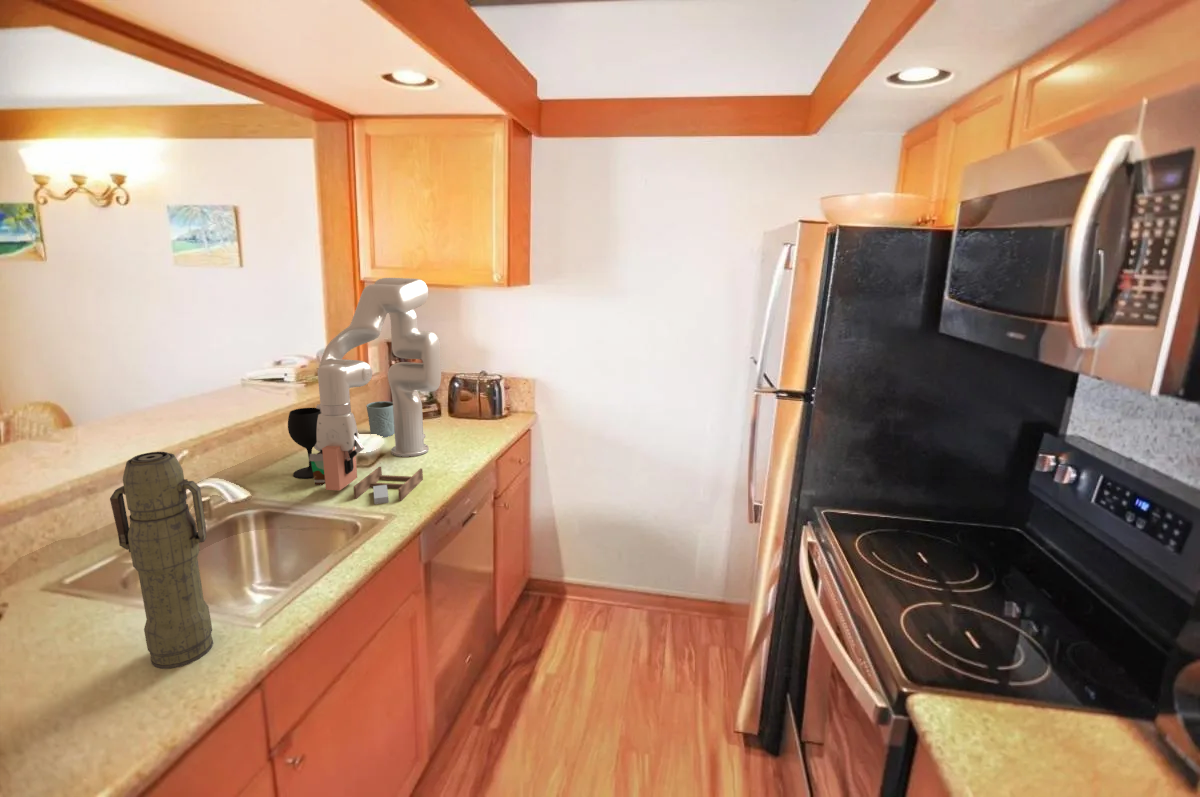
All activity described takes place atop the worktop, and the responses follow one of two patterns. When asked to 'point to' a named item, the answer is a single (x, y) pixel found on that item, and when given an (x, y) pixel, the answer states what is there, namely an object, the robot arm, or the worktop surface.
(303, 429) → the wine glass
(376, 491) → the offcut upper
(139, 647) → the worktop surface
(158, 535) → the thermos
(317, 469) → the food container
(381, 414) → the blue-grey embossed cup
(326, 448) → the pink slab
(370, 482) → the rack
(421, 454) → the robot arm
